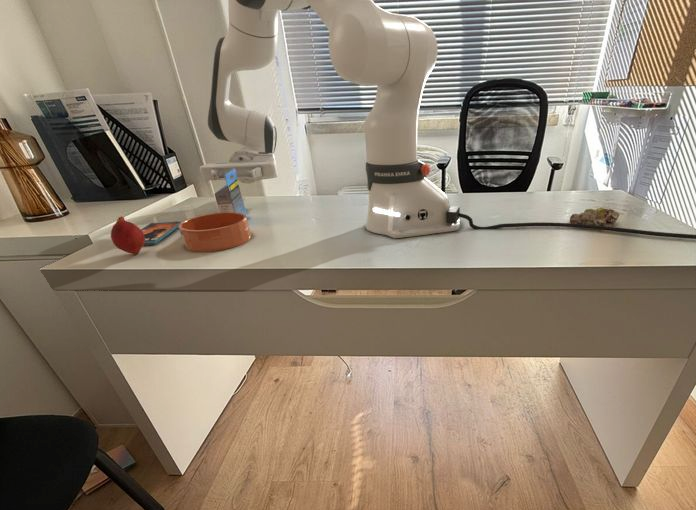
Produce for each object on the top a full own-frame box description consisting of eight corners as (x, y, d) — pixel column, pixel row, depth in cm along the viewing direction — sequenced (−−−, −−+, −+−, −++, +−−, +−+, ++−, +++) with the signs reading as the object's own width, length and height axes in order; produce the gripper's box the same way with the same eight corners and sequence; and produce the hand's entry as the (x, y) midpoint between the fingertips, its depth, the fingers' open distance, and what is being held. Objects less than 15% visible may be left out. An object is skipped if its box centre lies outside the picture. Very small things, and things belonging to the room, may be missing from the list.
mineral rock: (608, 206, 91) (627, 205, 84) (606, 225, 93) (625, 226, 85) (562, 210, 91) (577, 209, 84) (561, 229, 93) (576, 230, 85)
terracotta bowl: (257, 229, 95) (252, 210, 92) (242, 249, 83) (236, 228, 81) (199, 232, 95) (192, 214, 92) (175, 253, 83) (167, 232, 80)
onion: (136, 259, 81) (119, 221, 76) (113, 258, 82) (95, 220, 77) (156, 250, 85) (141, 213, 81) (134, 249, 86) (118, 212, 82)
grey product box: (233, 218, 104) (219, 168, 97) (248, 217, 104) (235, 167, 97) (223, 228, 97) (207, 175, 90) (239, 227, 97) (225, 174, 90)
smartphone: (118, 243, 87) (150, 222, 100) (121, 249, 88) (152, 228, 100) (153, 240, 87) (181, 220, 99) (156, 246, 88) (183, 225, 100)
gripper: (206, 156, 110) (187, 164, 98) (278, 152, 110) (268, 160, 99) (213, 179, 113) (196, 190, 102) (283, 176, 114) (274, 186, 103)
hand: (232, 175), depth 100 cm, fingers open, 8 cm apart
